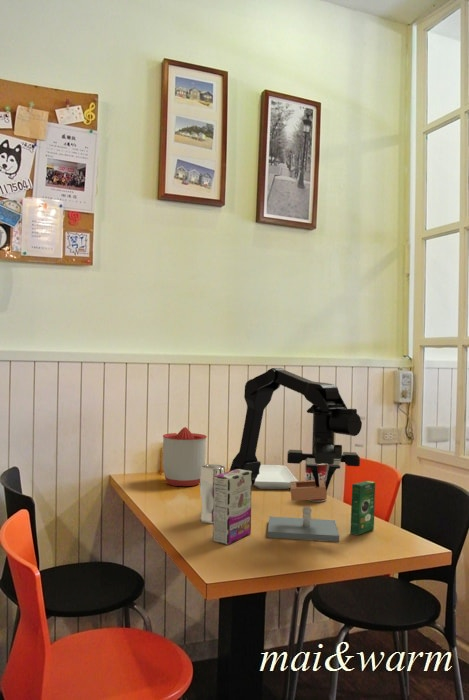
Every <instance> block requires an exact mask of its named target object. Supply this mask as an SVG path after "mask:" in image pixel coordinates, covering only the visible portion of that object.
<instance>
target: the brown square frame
mask: <svg viewBox="0 0 469 700" xmlns="http://www.w3.org/2000/svg"><path fill="white" fill-rule="evenodd" d="M290 486H291V488H290V497H291V502H293V501H307V500H313V499H326V500H327V497H328V496H327V497H326V486H325V483H324V480H319V486H316V483H315V480H308V481H305V480H298V481H292V482H290Z"/></svg>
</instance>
